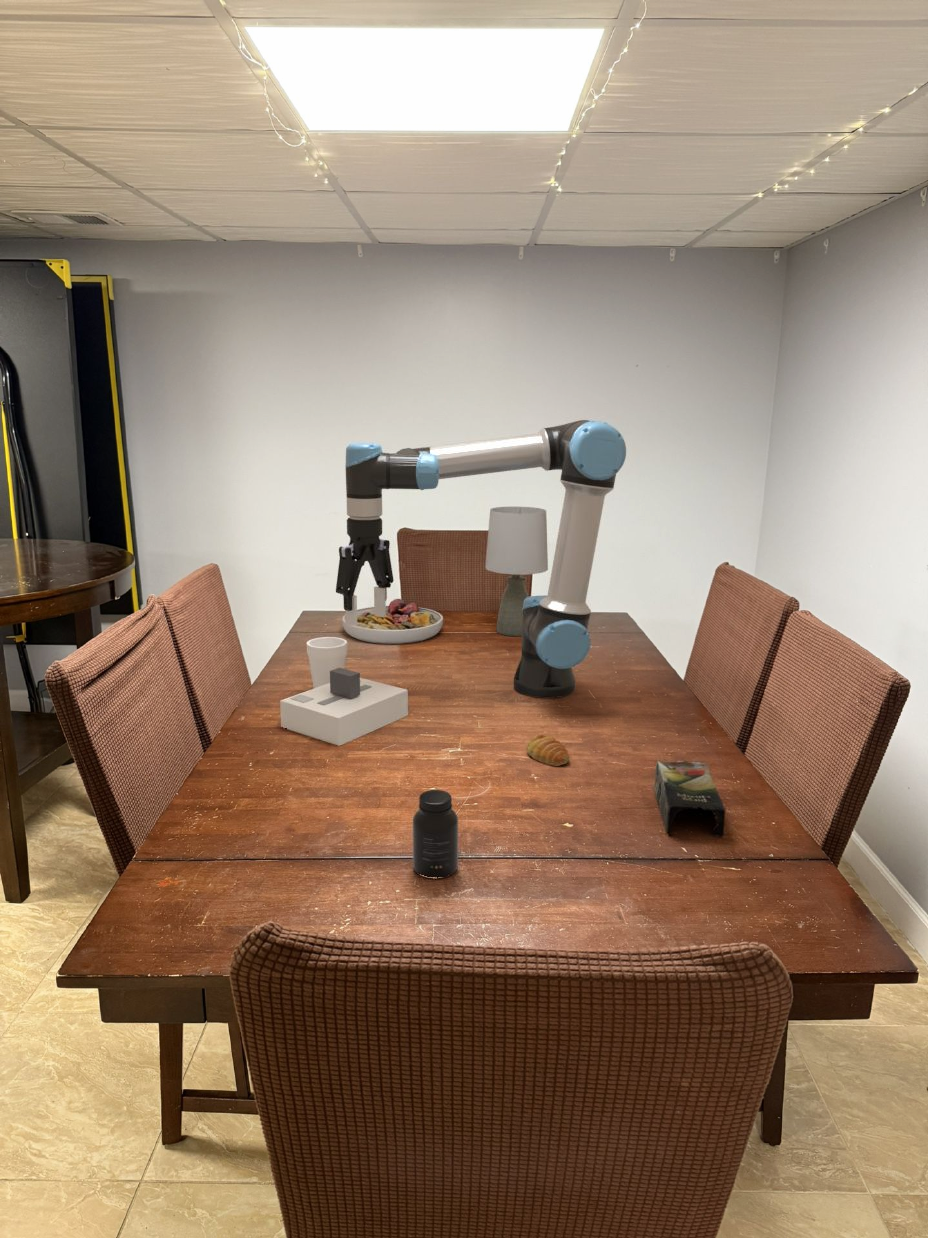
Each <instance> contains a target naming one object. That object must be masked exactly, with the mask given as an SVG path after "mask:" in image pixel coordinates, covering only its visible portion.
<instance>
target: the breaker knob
mask: <svg viewBox="0 0 928 1238" xmlns="http://www.w3.org/2000/svg"><path fill="white" fill-rule="evenodd" d="M360 674H361V673H360V672H359V671H353V670H350V669H346V668H345V669H343V668H337V669H334V670H331V671H330V693H333V694H336V695H340V696H343V697H347V698H350V699H351V698H354V697H356V696H359V695H360V678H361V675H360Z"/></svg>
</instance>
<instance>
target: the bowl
mask: <svg viewBox="0 0 928 1238" xmlns="http://www.w3.org/2000/svg"><path fill="white" fill-rule="evenodd" d="M341 623H342V627H343V629H344V631H345V632H346V633H347V635H349V636H350V637H352V638H355V639H357V640H360V641H363V642H367V643H373V644H380V645H381V644H382V645H399V644H401V645H402V644H411V643H417V642H421V641H425V640H427V639H430V638H432V637H434V636H436V635H437V634H438V633H439V632H440V631H441V629H442V627H443V623H444V617H443V615H442V614H441V613H440V612H438V611H435V610H433V609H429V608H424V607H419V605H418V604H417V603H415V602H411V603H408V604H406V602H405V601H404V600H403V599H401V598H394V599H393V600H392V601H390V603H389V604H388V605H386V617H379V616H374V606H370V607H369V606H368V607H362V608H359V609H358V608H357V625H356V626H353V625H349V624H345V614H344V615H343V616H342V618H341Z"/></svg>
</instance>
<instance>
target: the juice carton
mask: <svg viewBox="0 0 928 1238" xmlns="http://www.w3.org/2000/svg"><path fill="white" fill-rule="evenodd" d="M653 787H655V788H654V796H655V799H656V802H657V806H658V809H659V812H660V816H661V820H662V823H663V828H664V831H666V832H665V834H666V833H667V834H669V835H670V831H671V828H672V825H673V821H674V819H675V816H676V815H678V814H679V812H680V811H684V810H689V809H690V810H692V809H699V808H701V809H702V810H703V811H705V812H706V811H712V810H713V811H712V813H713V812H714V813H715V817H716V818H715V817H714V818H715V822H716V821H717V824H718V825H717V824H716V826H715V827H714V828H713V829H712V830H710V832H709V835H713V836H715V835H719V836H718V837H723V836H724V833H725V818H726V817H725V815H726V808H725V807H724V804H723V801H722V799H721V798H722V797H721V796H720V794H719V792H718V790H717V787H716V786H715V784H714V780H713V777H712V774H711V773H710V770H709V769H708V765H707V763H702V762H694V761H692V762H689V761H687V760H681V761H680V760H677V761H660V760H657V761H656V764H655V772H654V784H653ZM667 834H666V835H667Z"/></svg>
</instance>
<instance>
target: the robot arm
mask: <svg viewBox="0 0 928 1238" xmlns="http://www.w3.org/2000/svg"><path fill="white" fill-rule="evenodd" d="M626 457H627V446H626V442H625V439H624V437H623V435H622V434H621V433H620V431H619V430H618V429H617V428H615V427H614V426H613V425H611V424H609V423H607V422H603V421H601V420H588V419H581V420H576V421H572V422H568V423H564V424H559V425H555V426H551V427H542V428H541V429H540V430H539V432H537V433H530V434H523V435H522V434H521V435H515V436H507V437H505V436H504V437H497V438H489V439H481V440H474V441H463V442H458V443H449V444H441V445H434V446H433V445H432V446H427V447H415V448H411V447H406V448H401V449H399V450H398V451H396V452H395V453H394V452H393V453H389V452H383V448H382V445H381V444H380V443H375V442H354V443H353V442H351V443H350V444H348V445H347V446H346V448H345V489H346V491H345V493H346V494H345V496H346V515H347V519H346V534H347V535H348V536H349V543H348V545H346V546H339V548H338V553H339V554H338V555H339V563H338V569H337V577H336V586H335V593H336V594H340V595H342V596H343V597H342V598H343V609H344V612H345V613H344V615H345V624H349V625H353V626H356V625H357V610H358V598H357V597H358V596H357V595H356V594H355V592H356V591H355V590H356V588H357V585H358V581H359V579H360V578H359V577H360V575H361V574H360V573H361V570H362V568H363V566H365V563H366V562H367V563H368V565H369V568H370V571H371V572H372V573H371V574H372V576H373V578H374V581H375V584H376V586H373V602H374V603H373V605H374V606H373V607H374V616H379V617H386V606H387V605H386V603H387V599H388V596H387V595H388V593H387V591H388V590H387V589H390V588H391V586H392V583H393V582H394V574H393V568H392V562H391V554H390V547H391V546H390V544H391V543H390V540H386V539H382V538H381V537H380V536H382V535H383V519H382V518H381V516H383V493H382V492H383V490H421V491H423V490H434V489H436V488H438V485H439V482H440V481H439V480H444V479H451V478H452V479H453V478H461V477H470V476H476V475H479V476H480V475H485V474H493V473H502V472H510V471H512V472H513V471H518V470H520V471H521V470H528V469H537V468H542V469H543V470H544V471H545V472H546V471H547V472H548V471H556V470H557V471H558V470H559V471H561V473H560V474H561V475H560V480H559V482H561V484H562V486H563V487H564V489H565V491H564V497H563V498H564V499H563V504H562V510H561V515H560V520H559V527H558V533H557V539H556V545H555V551H554V555H553V561H552V568H551V574H550V579H549V585H548V590H547V595H531V596H529V597H527V598H525V600H524V602H523V608H522V611H523V621H522V636H521V656H520V660H519V663H518V665H517V668H516V670H515V674H514V676H513V683H512V684H513V685H512V686H513V689H514V690H515V691H516V692H517V693H519V694H522V695H524V696H528V697H533V698H543V699H549V698H551V699H552V698H562V697H566V696H569V695H571V694H573V693H574V692H575V691H576V678H575V674H574V670H573V668H574V667H576V666H577V665H579V664H580V663H582V662H583V661H584V660H585V659H586V658H587V656H588V655H589V652H590V649H591V643H592V641H591V635H590V632H589V630H588V628H589V623H590V616H591V612H592V610H591V609H590V606H589V605H588V604H587V602H586V601H587V597H588V591H589V585H590V580H591V574H592V568H593V563H594V558H595V553H596V552H595V551H596V546H597V542H598V535H599V531H600V525H601V520H602V515H603V509H604V508H603V507H604V504H605V497H606V496H607V494H609V493H610V492H612V491H613V490H614V488H615V483H616V476H617V474H618V472H619V471H620V470H621V469H622V467H623V465H624V463H625V461H626Z"/></svg>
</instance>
